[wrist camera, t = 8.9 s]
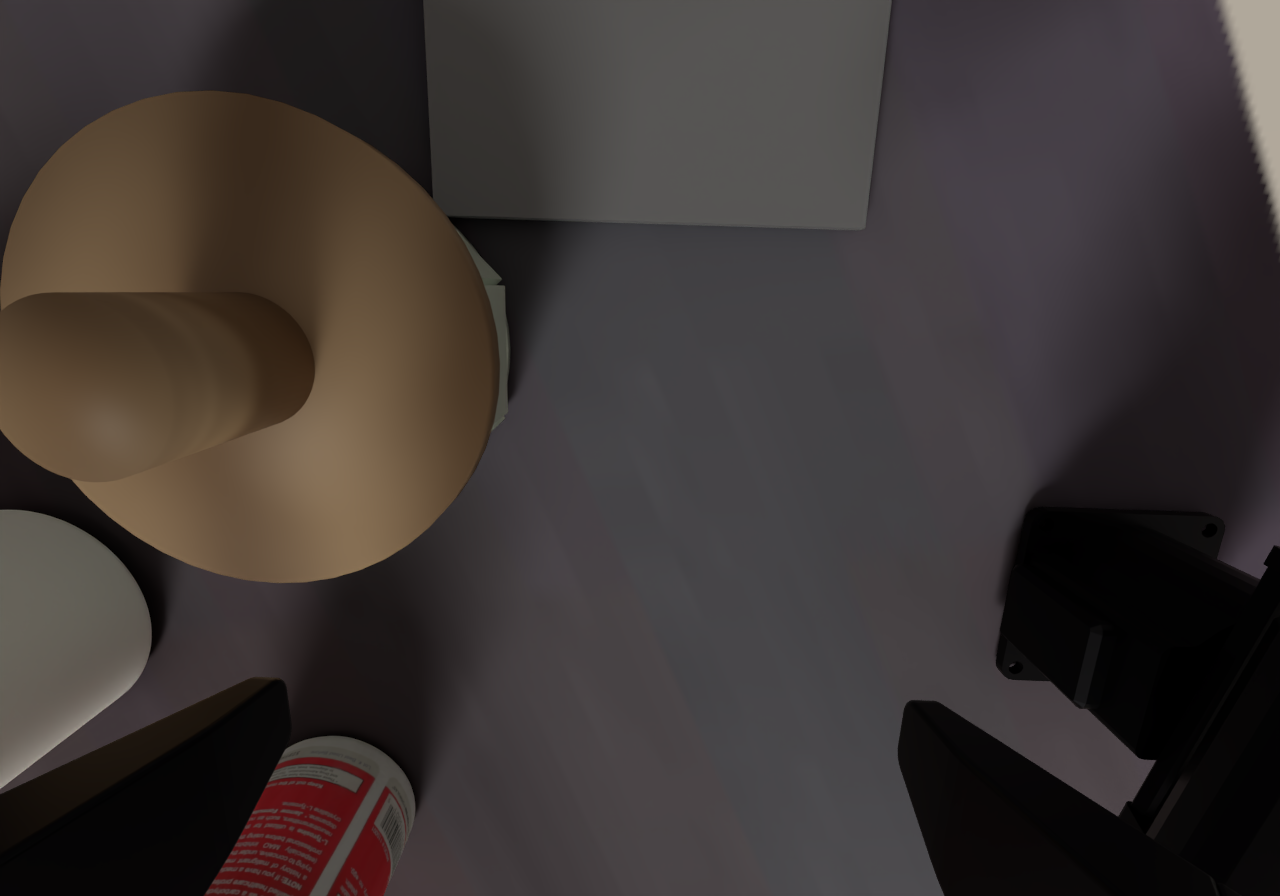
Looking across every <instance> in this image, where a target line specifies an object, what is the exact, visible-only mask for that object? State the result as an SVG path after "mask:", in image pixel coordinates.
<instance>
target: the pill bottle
mask: <svg viewBox="0 0 1280 896" xmlns="http://www.w3.org/2000/svg"><path fill="white" fill-rule="evenodd" d="M414 818H415V799H414V794H413V790H412V787H411V785H410V782H409V780H408V779H407V777H406V775H405V773H404V772H403V771H402V769H401V768H400V767H399V766H398V765H397V764H396V763H395V762H394V761H393V760H392V759H391V758H390V757H389V756H387V755H386V754H385V753H383V752H382V751H380V750H379V749H377V748H376V747H374V746H372V745H370V744H368V743H365V742H363V741H360V740H357V739H354V738H350V737H344V736H323V737H316V738H311V739H307V740H304V741H301V742H298V743H296V744H294V745H292V746H290V747H288V748H287V749H285V751H284V753H283V755H282V757H281V759H280V761H279V762H278V764H277V766H276V768H275V770H274V772H273V774H272V776H271V778H270V780H269V782H268V784H267V786H266V788H265V789H264V791H263V793H262V795H261V797H260V799H259V801H258V803H257V805H256V807H255V809H254V811H253V813H252V815H251V816H250V818H249V820H248V822H247V824H246V826H245V828H244V830H243V832H242V834H241V836H240V837H239V839H238V841H237V843H236V845H235V846H234V848H233V850H232V852H231V853H230V855H229V857H228V858H227V860H226V862H225V863H224V865H223V867H222V868H221V870H220V872H219V873H218V875H217V876H216V878H215V879H214V881H213V883H212V884H211V886H210V887H209V889H208V890H207V892H206V894H205V895H204V896H383V895H384V893H385V891H386V888H387V886H388V884H389V882H390V879H391V877H392V875H393V872H394V870H395V868H396V866H397V863H398V861H399V858H400V856H401V854H402V851H403V849H404V847H405V844H406V842H407V839H408V837H409V834H410V832H411V829H412V826H413V822H414Z"/></svg>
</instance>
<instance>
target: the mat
mask: <svg viewBox="0 0 1280 896" xmlns="http://www.w3.org/2000/svg"><path fill="white" fill-rule="evenodd" d="M891 3H892V0H423V7H424V27H425V47H426V67H427V87H428V107H429V127H430V147H431V167H432V187H433V200H434V201H435V202H436V203H437V205H438V206H439V207H440V208H441V209H442V210H443V212H444V213H445V214H446V215H447V217H449V218H481V219H512V220H544V221H575V222H607V223H638V224H670V225H701V226H733V227H764V228H796V229H827V230H862V229H865V226H866V217H867V209H868V200H869V191H870V183H871V174H872V166H873V157H874V149H875V140H876V132H877V123H878V114H879V106H880V97H881V89H882V80H883V72H884V63H885V55H886V46H887V37H888V29H889V20H890V12H891Z"/></svg>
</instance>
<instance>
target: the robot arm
mask: <svg viewBox="0 0 1280 896" xmlns="http://www.w3.org/2000/svg"><path fill="white" fill-rule="evenodd" d="M1044 518H1046V523H1045V524H1044V525H1043V526H1042V527H1039V523H1040V521H1041V520H1042V519H1044ZM1206 525H1207V527H1206V529H1205V530H1204V531H1203V532H1202V529H1203V528H1204V526H1206ZM1224 531H1225V525H1224V522H1223V521H1222V520H1221V519H1220V518H1218V517H1216V516H1213V515H1211V514H1208V513H1203V512H1176V511H1147V510H1118V509H1088V508H1059V507H1038V508H1034V509H1033V510H1031V511H1030V512H1029V513H1028V514H1027V515H1026V517H1025V519H1024V524H1023V529H1022V534H1021V539H1020V544H1019V549H1018V554H1017V559H1016V564H1015V567H1014V568H1013V570H1012V573H1011V578H1010V583H1009V588H1008V593H1007V598H1006V603H1005V608H1004V613H1003V618H1002V623H1001V628H1000V632H1001V638H1000V643H999V648H998V653H997V658H996V666H997V668H998V670H999V671H1000V672H1001V673H1002V674H1003V675H1004V676H1005V677H1007V678H1008V679H1012V680H1031V681H1051V682H1052V683H1053V684H1054V685H1055V686H1056V687H1057V688H1058V689H1059V690H1060V691H1061V692H1062V693H1063V694H1064V695H1065V696H1066V697H1067V698H1068V699H1069V700H1070V701H1071V702H1072V703H1073V704H1074V705H1075V706H1076V707H1078V708H1080V709H1088V710H1089V711H1090V712H1091V713H1092V714H1093V715H1094V716H1095V717H1096V718H1097V719H1098V720H1099V721H1100V722H1101V723H1102V724H1103V725H1105V726H1106V727H1107V728H1108V729H1109V730H1110V731H1111V732H1112V733H1113V734H1114V735H1115V736H1116V737H1117V738H1118V739H1119V740H1120V741H1121V742H1122V743H1123V744H1124V745H1126V746H1127V747H1128V748H1129V749H1130V750H1131V751H1132V752H1133V753H1134V754H1135V755H1136V756H1137V757H1138V758H1140V759H1144V760H1156V762H1155V763H1154V765H1153V767H1152V769H1151V770H1150V772H1149V774H1148V776H1147V777H1146V779H1145V781H1144V782H1143V784H1142V786H1141V788H1140V789H1139V791H1138V793H1137V795H1136V796H1135V798H1134V800H1133V802H1131V801H1127V802H1126V804H1125V806H1124V808H1123V809H1122V811H1121V813H1120V815H1119V816H1118V817H1117V816H1116V815H1114V814H1113V813H1111V812H1110V811H1108V810H1107V809H1105V808H1103V807H1102V806H1100V805H1099V804H1097V803H1096V802H1094V801H1092V800H1091V799H1089V798H1088V797H1086V796H1085V795H1083V794H1082V793H1080V792H1078V791H1077V790H1075V789H1074V788H1072V787H1071V786H1069V785H1067V784H1066V783H1064V782H1063V781H1061V780H1060V779H1058V778H1057V777H1055V776H1053V775H1052V774H1050V773H1049V772H1047V771H1046V770H1044V769H1042V768H1041V767H1039V766H1038V765H1036V764H1035V763H1033V762H1031V761H1030V760H1028V759H1027V758H1025V757H1024V756H1022V755H1021V754H1019V753H1017V752H1016V751H1014V750H1013V749H1011V748H1010V747H1008V746H1006V745H1005V744H1003V743H1002V742H1000V741H999V740H997V739H996V738H994V737H992V736H991V735H989V734H988V733H986V732H985V731H983V730H981V729H980V728H978V727H977V726H975V725H974V724H972V723H971V722H969V721H967V720H966V719H964V718H963V717H961V716H960V715H958V714H956V713H955V712H953V711H952V710H950V709H949V708H947V707H946V706H944V705H942V704H941V703H939V702H936V701H922V700H911V701H909V702H908V703H907V704H906V705H905V708H904V712H903V718H902V725H901V731H900V737H899V743H898V761H899V766H900V769H901V772H902V775H903V778H904V781H905V784H906V787H907V790H908V793H909V796H910V799H911V802H912V805H913V808H914V811H915V814H916V817H917V820H918V823H919V826H920V829H921V832H922V836H923V839H924V842H925V845H926V848H927V851H928V854H929V857H930V860H931V862H932V865H933V868H934V871H935V874H936V876H937V879H938V881H939V884H940V886H941V889H942V891H943V893H944V896H1280V547H1279V546H1275V545H1274V546H1273V548H1272V550H1271V552H1270V553H1269V555H1268V557H1267V559H1266V560H1265V562H1264V565H1266V566H1268V568H1267V569H1266V571H1265V573H1264V575H1263V576H1262V578H1261V580H1260V579H1258V578H1256V577H1254V576H1251V575H1249V574H1247V573H1245V572H1243V571H1241V570H1239V569H1237V568H1234V567H1232V566H1230V565H1228V564H1226V563H1224V562H1222V561H1220V560H1217V555H1218V552H1219V549H1220V545H1221V542H1222V538H1223V535H1224ZM1013 662H1016V664H1015V665H1014V666H1012V667H1009V666H1010V664H1012V663H1013ZM290 736H291V717H290V710H289V702H288V695H287V688H286V684H285V683H284V681H283V680H282V679H280V678H269V677H253V678H250V679H247V680H245V681H243V682H241V683H239V684H237V685H234V686H232V687H230V688H228V689H226V690H224V691H221V692H219V693H217V694H215V695H213V696H211V697H209V698H206V699H204V700H202V701H200V702H198V703H196V704H194V705H191V706H189V707H187V708H185V709H183V710H181V711H178V712H176V713H174V714H172V715H170V716H168V717H166V718H163V719H161V720H159V721H157V722H155V723H153V724H151V725H148V726H146V727H144V728H142V729H140V730H138V731H135V732H133V733H131V734H129V735H127V736H125V737H123V738H120V739H118V740H116V741H114V742H112V743H110V744H108V745H105V746H103V747H101V748H99V749H97V750H95V751H92V752H90V753H88V754H86V755H84V756H82V757H80V758H77V759H75V760H73V761H71V762H69V763H67V764H65V765H62V766H60V767H58V768H56V769H54V770H52V771H49V772H47V773H45V774H43V775H41V776H39V777H37V778H34V779H32V780H30V781H28V782H26V783H24V784H22V785H19V786H17V787H15V788H13V789H11V790H9V791H6V792H4V793H2V794H0V896H204V895H205V894H206V892H207V890H208V889H209V887H210V886H211V884H212V883H213V881H214V879H215V878H216V876H217V875H218V873H219V872H220V870H221V868H222V867H223V865H224V863H225V862H226V860H227V858H228V857H229V855H230V853H231V852H232V850H233V848H234V846H235V845H236V843H237V841H238V839H239V837H240V836H241V834H242V832H243V830H244V828H245V826H246V824H247V822H248V820H249V818H250V816H251V815H252V813H253V811H254V809H255V807H256V805H257V803H258V801H259V799H260V797H261V795H262V793H263V791H264V789H265V788H266V786H267V784H268V782H269V780H270V778H271V776H272V774H273V772H274V770H275V768H276V766H277V764H278V762H279V761H280V759H281V757H282V755H283V753H284V751H285V749H286V747H287V745H288V742H289V739H290Z"/></svg>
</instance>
